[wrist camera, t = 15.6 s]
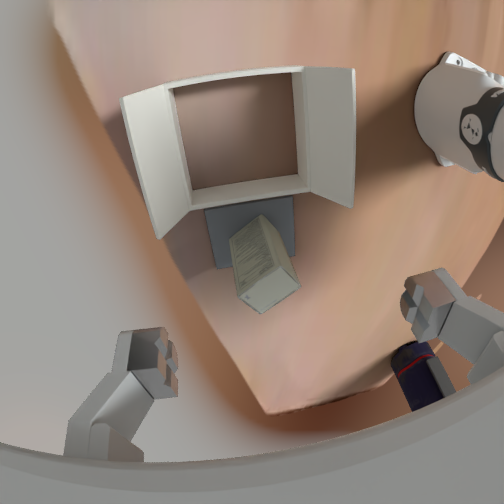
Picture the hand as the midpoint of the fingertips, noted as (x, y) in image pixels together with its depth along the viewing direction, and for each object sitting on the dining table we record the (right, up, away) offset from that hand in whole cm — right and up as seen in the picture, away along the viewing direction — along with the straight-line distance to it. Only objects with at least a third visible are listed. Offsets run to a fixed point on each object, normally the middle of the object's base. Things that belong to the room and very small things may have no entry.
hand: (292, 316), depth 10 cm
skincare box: (-1, +5, +35) cm, 35 cm away
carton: (-3, +17, +26) cm, 31 cm away
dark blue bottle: (+41, -24, +63) cm, 79 cm away
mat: (-1, +5, +35) cm, 35 cm away
